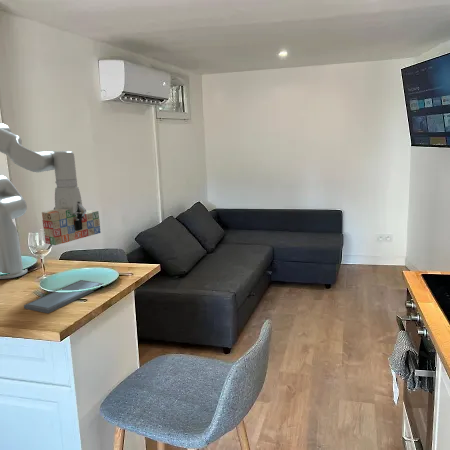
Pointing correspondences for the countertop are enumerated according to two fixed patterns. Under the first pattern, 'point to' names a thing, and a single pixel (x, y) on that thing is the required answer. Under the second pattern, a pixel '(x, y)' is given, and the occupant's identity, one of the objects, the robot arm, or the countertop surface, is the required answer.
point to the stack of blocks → (68, 226)
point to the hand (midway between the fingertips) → (71, 229)
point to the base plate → (61, 297)
